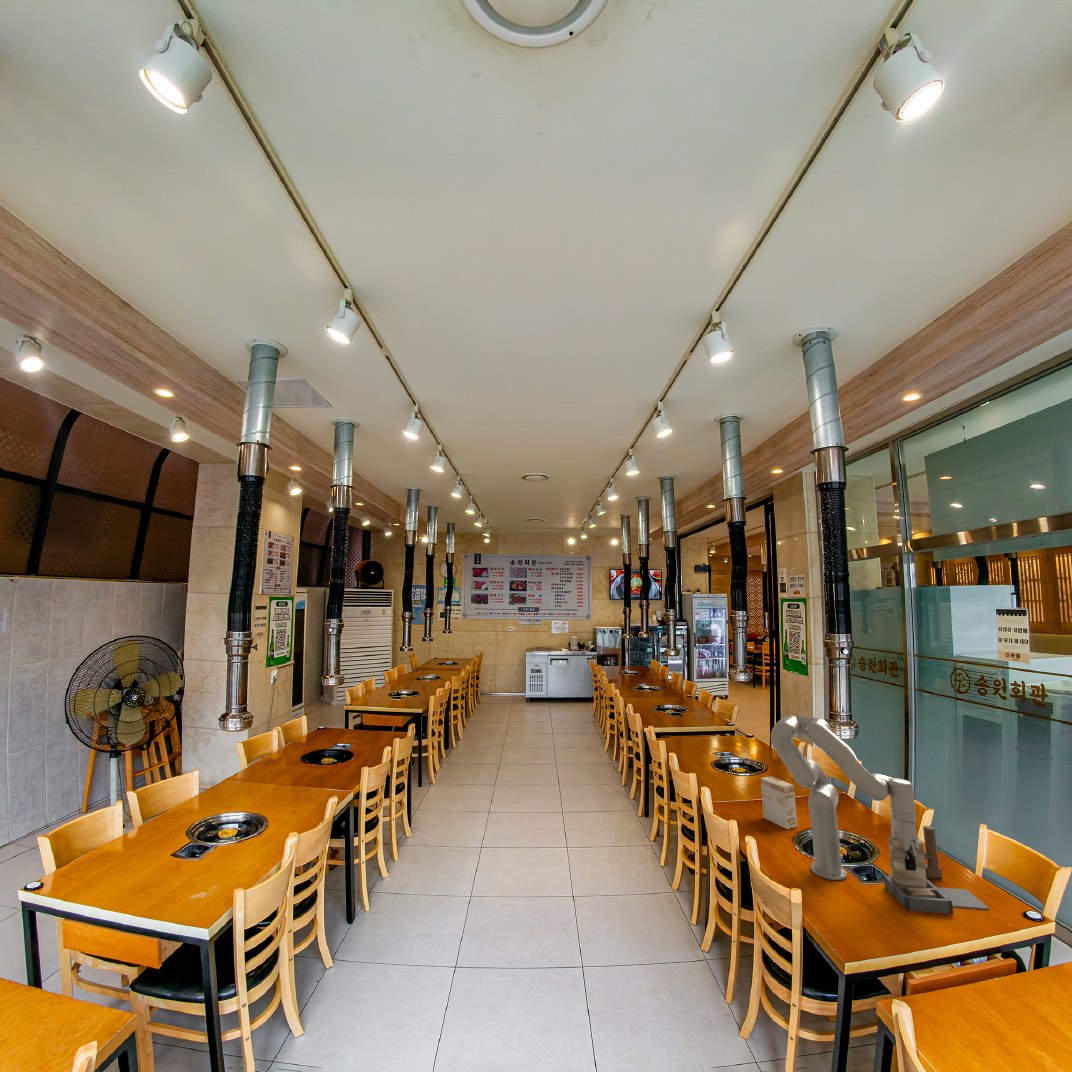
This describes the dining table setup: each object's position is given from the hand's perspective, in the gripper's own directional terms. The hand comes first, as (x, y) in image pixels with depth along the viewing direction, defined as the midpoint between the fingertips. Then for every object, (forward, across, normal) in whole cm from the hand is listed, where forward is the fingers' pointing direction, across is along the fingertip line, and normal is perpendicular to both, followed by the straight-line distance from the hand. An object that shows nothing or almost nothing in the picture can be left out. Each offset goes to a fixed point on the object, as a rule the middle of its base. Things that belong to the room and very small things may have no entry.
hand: (907, 866), depth 188 cm
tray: (+9, +4, +1) cm, 10 cm away
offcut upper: (+7, +7, 0) cm, 10 cm away
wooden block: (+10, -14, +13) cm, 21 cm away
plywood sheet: (+7, 0, 0) cm, 7 cm away
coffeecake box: (+11, -59, -28) cm, 67 cm away
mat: (+9, +1, +15) cm, 18 cm away
